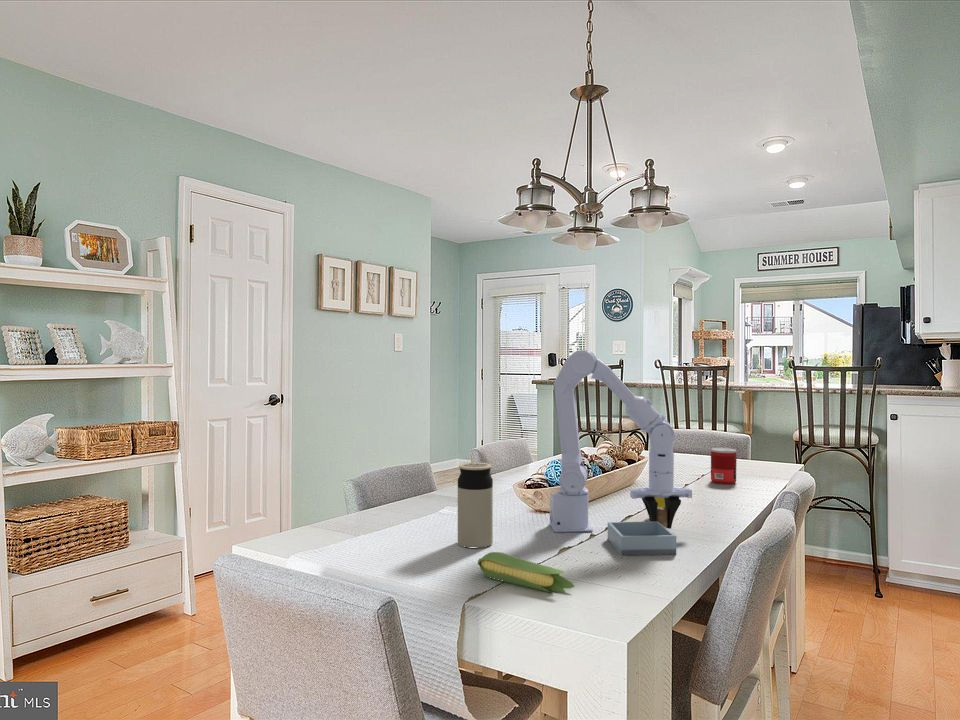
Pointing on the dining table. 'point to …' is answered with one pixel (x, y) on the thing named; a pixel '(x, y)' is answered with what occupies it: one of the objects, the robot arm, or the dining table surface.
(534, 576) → the edible corn
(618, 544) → the tray
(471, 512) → the travel mug
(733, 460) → the canned food
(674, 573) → the dining table surface
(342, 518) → the dining table surface
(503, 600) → the dining table surface
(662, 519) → the peg
